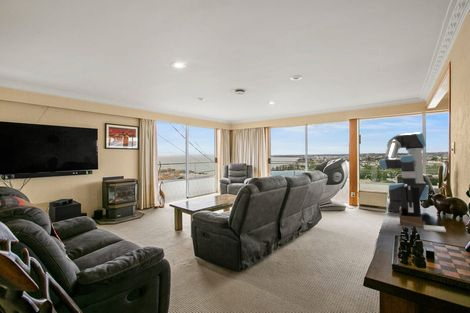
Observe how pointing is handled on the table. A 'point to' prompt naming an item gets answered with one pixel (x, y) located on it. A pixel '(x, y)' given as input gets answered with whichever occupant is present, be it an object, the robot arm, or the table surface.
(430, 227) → the felt mat
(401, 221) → the book bay
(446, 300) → the table surface
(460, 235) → the table surface
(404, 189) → the black tall block
